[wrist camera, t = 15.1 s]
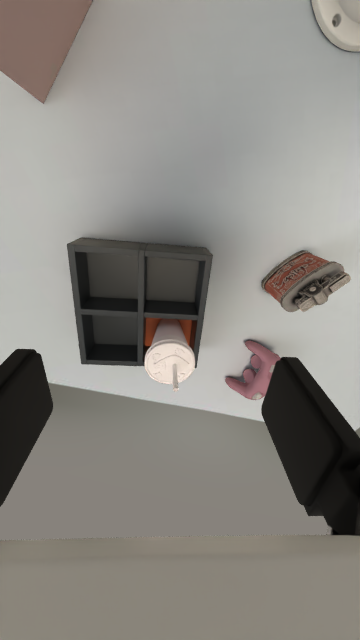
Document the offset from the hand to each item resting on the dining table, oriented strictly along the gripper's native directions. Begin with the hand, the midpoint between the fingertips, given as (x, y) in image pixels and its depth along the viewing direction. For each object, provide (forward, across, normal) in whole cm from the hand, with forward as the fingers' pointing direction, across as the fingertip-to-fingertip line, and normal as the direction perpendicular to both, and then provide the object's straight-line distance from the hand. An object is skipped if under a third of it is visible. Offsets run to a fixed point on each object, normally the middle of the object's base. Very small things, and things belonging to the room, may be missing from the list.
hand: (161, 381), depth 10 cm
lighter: (+27, -18, +3) cm, 33 cm away
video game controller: (+27, -16, +20) cm, 37 cm away
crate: (+27, +3, +8) cm, 28 cm away
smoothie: (+26, -1, +12) cm, 29 cm away
